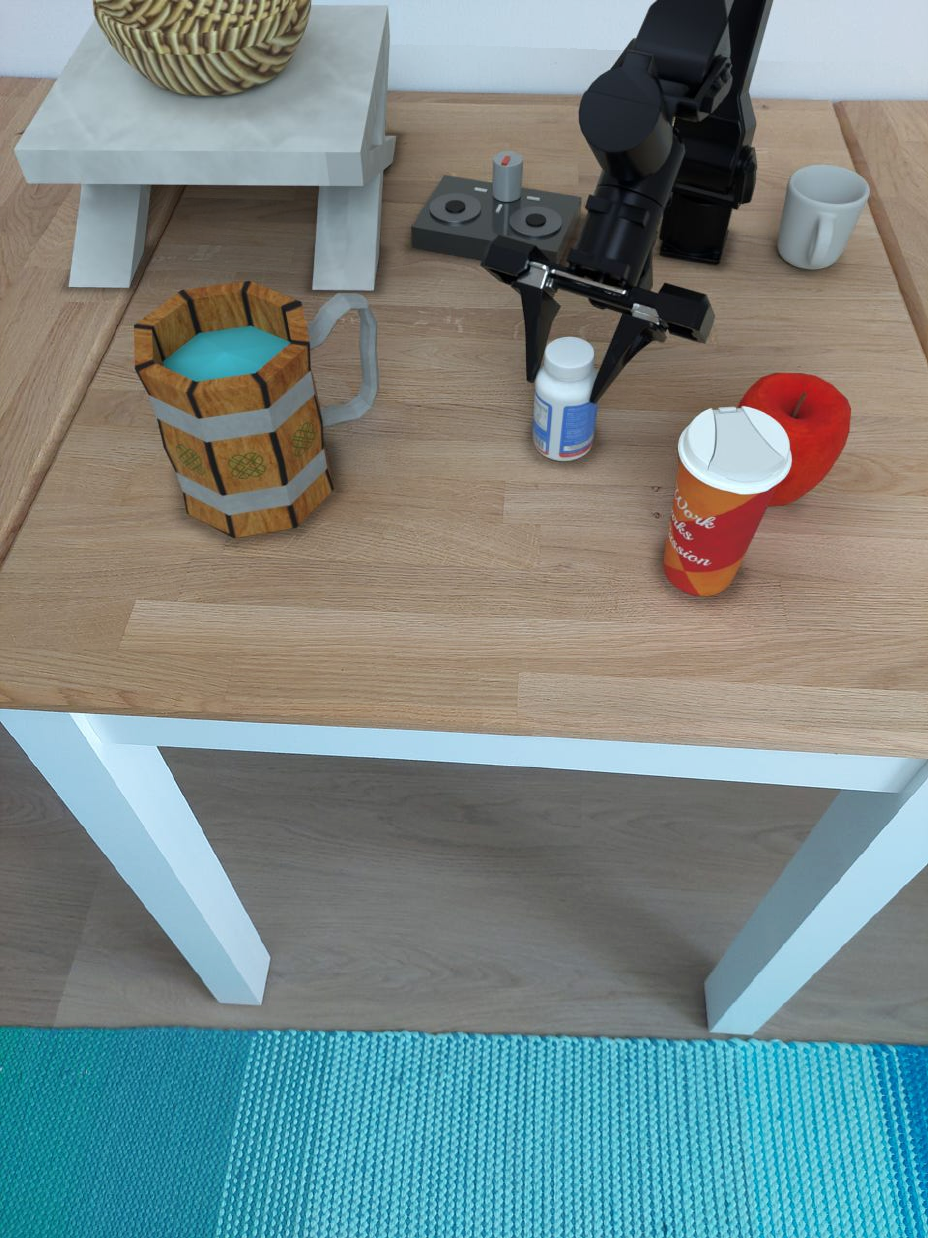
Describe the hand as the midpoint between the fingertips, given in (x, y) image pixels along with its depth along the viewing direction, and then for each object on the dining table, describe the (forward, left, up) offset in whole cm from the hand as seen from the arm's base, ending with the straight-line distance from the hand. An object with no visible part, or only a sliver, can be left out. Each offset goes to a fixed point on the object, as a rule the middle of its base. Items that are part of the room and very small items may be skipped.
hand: (560, 392), depth 77 cm
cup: (-18, -35, -7) cm, 40 cm away
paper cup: (-14, +10, -7) cm, 18 cm away
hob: (+15, -31, -7) cm, 35 cm away
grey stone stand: (+44, -28, -7) cm, 53 cm away
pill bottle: (0, -1, -7) cm, 7 cm away
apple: (-18, 0, -7) cm, 19 cm away
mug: (+22, +9, -7) cm, 24 cm away
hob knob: (+15, -35, -4) cm, 38 cm away
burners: (+15, -31, -4) cm, 35 cm away
